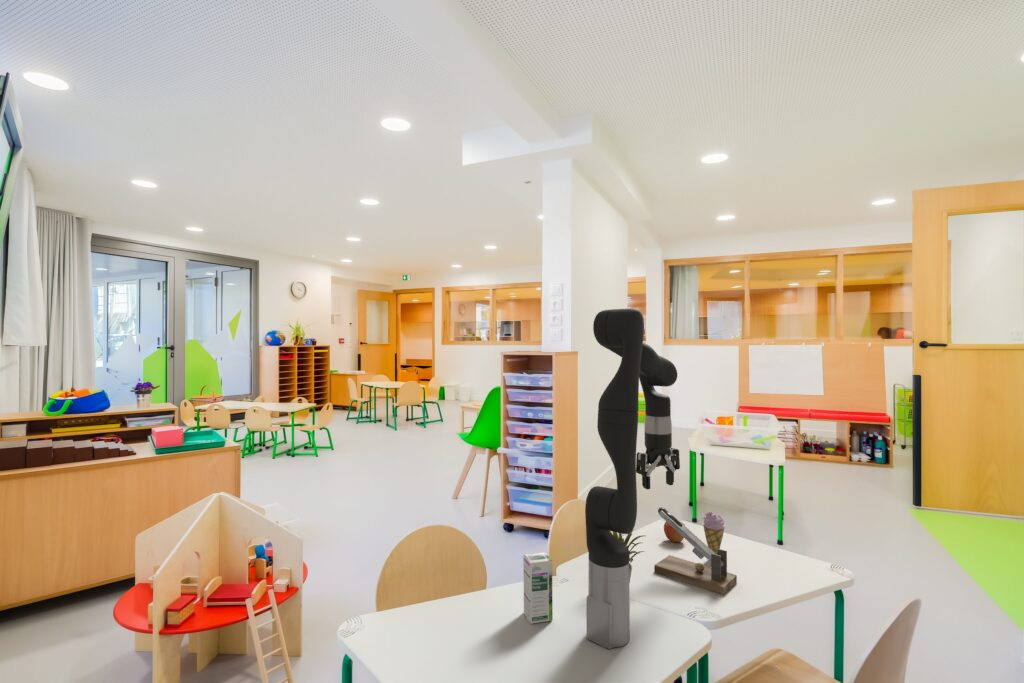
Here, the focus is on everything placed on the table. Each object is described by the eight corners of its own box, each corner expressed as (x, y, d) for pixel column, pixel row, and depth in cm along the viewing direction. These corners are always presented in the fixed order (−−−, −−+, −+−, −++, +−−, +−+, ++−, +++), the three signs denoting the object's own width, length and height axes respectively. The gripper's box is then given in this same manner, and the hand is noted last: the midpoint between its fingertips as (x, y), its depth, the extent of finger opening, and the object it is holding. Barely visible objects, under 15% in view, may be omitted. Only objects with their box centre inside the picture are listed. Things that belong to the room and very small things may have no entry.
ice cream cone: (697, 556, 155) (697, 508, 155) (712, 552, 157) (711, 506, 158) (714, 564, 149) (714, 515, 149) (729, 560, 151) (728, 512, 152)
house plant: (661, 595, 129) (661, 533, 129) (620, 607, 123) (620, 542, 123) (625, 573, 142) (625, 517, 142) (587, 583, 135) (587, 524, 136)
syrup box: (530, 625, 114) (530, 562, 115) (522, 612, 120) (523, 553, 120) (552, 621, 116) (553, 560, 116) (544, 609, 121) (544, 550, 122)
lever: (715, 573, 134) (722, 564, 133) (653, 515, 148) (658, 506, 146) (719, 569, 136) (726, 561, 135) (657, 512, 150) (663, 504, 149)
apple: (690, 544, 164) (690, 521, 164) (670, 546, 162) (670, 522, 163) (678, 536, 171) (678, 514, 171) (659, 538, 170) (659, 515, 170)
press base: (723, 594, 129) (723, 560, 130) (654, 571, 143) (654, 541, 143) (736, 582, 137) (736, 550, 137) (669, 561, 150) (669, 532, 151)
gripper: (647, 435, 133) (647, 494, 133) (686, 430, 139) (686, 486, 139) (629, 430, 140) (630, 486, 140) (667, 426, 146) (667, 479, 146)
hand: (658, 486), depth 140 cm, fingers open, 8 cm apart
